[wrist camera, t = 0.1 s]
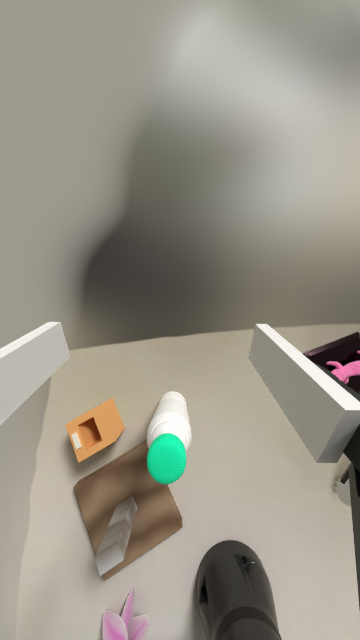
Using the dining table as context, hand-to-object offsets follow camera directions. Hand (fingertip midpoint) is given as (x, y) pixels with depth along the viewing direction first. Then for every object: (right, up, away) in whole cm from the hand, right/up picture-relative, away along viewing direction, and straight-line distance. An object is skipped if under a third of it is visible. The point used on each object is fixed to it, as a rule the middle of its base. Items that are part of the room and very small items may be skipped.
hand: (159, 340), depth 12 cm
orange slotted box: (-18, -24, +31) cm, 43 cm away
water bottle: (0, -21, +32) cm, 38 cm away
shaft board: (-10, -40, +27) cm, 50 cm away
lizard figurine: (+47, -12, +36) cm, 60 cm away
